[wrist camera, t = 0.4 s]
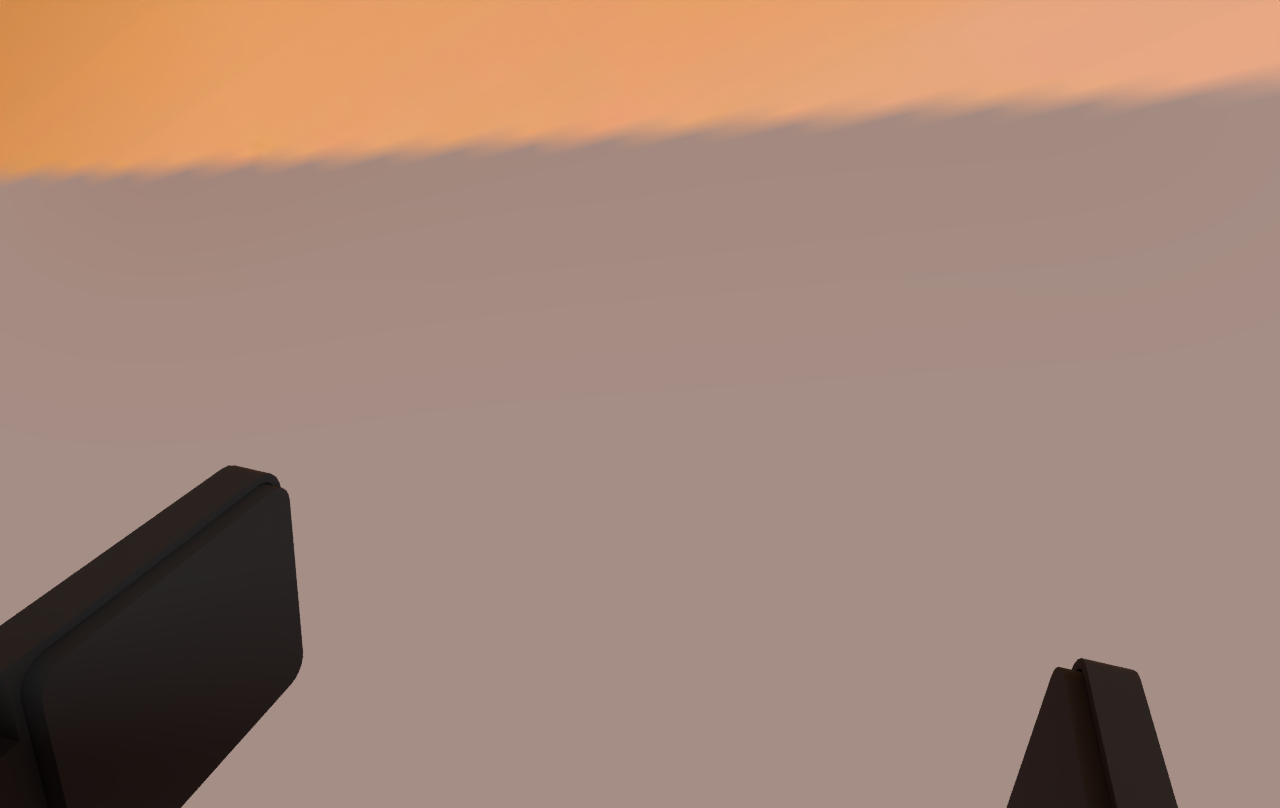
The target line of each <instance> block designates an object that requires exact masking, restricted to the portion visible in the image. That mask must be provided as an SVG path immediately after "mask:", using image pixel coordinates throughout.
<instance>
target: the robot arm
mask: <svg viewBox="0 0 1280 808" xmlns="http://www.w3.org/2000/svg"><path fill="white" fill-rule="evenodd" d="M302 659H303V648H302V636H301V625H300V613H299V601H298V591H297V579H296V568H295V556H294V544H293V532H292V521H291V510H290V499H289V495H288V493H287V491H286V490H284V489H283V488H281V487H280V483H279V481H278V479H277V478H276V477H275V476H274V475H272V474H270V473H265V472H261V471H256V470H252V469H248V468H243V467H239V466H227V467H225V468H223V469H221V470H220V471H218V472H217V473H215V474H214V475H212V476H211V477H210V478H208V479H207V480H206V481H204V482H203V483H201V484H200V485H198V486H197V487H196V488H194V489H193V490H191V491H190V492H189V493H187V494H186V495H184V496H183V497H181V498H180V499H179V500H177V501H176V502H174V503H173V504H172V505H170V506H169V507H167V508H166V509H164V510H163V511H162V512H160V513H159V514H157V515H156V516H155V517H153V518H152V519H150V520H149V521H148V522H146V523H145V524H144V525H142V526H140V527H139V528H138V529H136V530H135V531H133V532H132V533H131V534H129V535H128V536H126V537H125V538H124V539H122V540H121V541H119V542H118V543H116V544H115V545H114V546H112V547H111V548H110V549H108V550H107V551H105V552H104V553H102V554H101V555H99V556H98V557H97V558H95V559H94V560H93V561H91V562H90V563H88V564H87V565H86V566H84V567H83V568H81V569H80V570H78V571H77V572H76V573H74V574H73V575H71V576H70V577H68V578H67V579H66V580H64V581H63V582H61V583H60V584H59V585H57V586H56V587H54V588H53V589H51V591H49V592H47V593H46V594H44V595H43V596H42V597H40V598H39V599H37V600H36V601H35V602H33V603H32V604H30V605H29V606H27V607H26V608H25V609H23V610H22V611H20V612H19V613H18V614H16V615H15V616H13V617H12V618H11V619H9V620H8V621H6V622H5V623H4V624H2V625H1V626H0V808H181V807H182V806H183V805H184V804H185V802H186V801H187V800H188V799H189V798H190V797H191V796H192V795H193V793H194V792H195V791H196V790H197V789H198V787H200V786H201V784H202V783H203V782H204V781H205V780H206V779H207V778H208V777H209V775H210V774H211V773H212V772H213V771H214V770H215V769H216V768H217V767H218V765H219V764H220V763H221V762H222V761H223V760H224V759H225V758H226V756H227V755H228V754H229V753H230V752H231V751H232V750H233V749H234V748H235V746H236V745H237V744H238V743H239V742H240V741H241V740H242V739H243V737H244V736H245V735H246V734H247V733H248V732H249V731H250V730H251V728H252V727H253V726H254V725H255V724H256V723H257V722H258V721H259V720H260V718H261V717H262V716H263V715H264V714H265V713H266V712H267V710H268V709H269V708H270V707H271V706H272V705H273V704H274V703H275V702H276V700H277V699H278V698H279V697H280V696H281V695H282V694H283V693H284V692H285V690H286V689H287V688H288V687H289V686H290V685H291V684H292V682H293V680H295V678H296V676H297V674H298V672H299V670H300V667H301V664H302ZM1007 808H1178V806H1177V803H1176V800H1175V796H1174V793H1173V789H1172V786H1171V782H1170V779H1169V775H1168V772H1167V769H1166V765H1165V762H1164V758H1163V755H1162V751H1161V748H1160V745H1159V741H1158V738H1157V734H1156V731H1155V728H1154V724H1153V721H1152V718H1151V714H1150V710H1149V707H1148V703H1147V700H1146V697H1145V693H1144V690H1143V686H1142V683H1141V679H1140V677H1139V675H1138V673H1137V672H1136V671H1134V670H1131V669H1127V668H1122V667H1118V666H1113V665H1108V664H1105V663H1100V662H1095V661H1091V660H1087V659H1082V658H1080V659H1078V660H1077V661H1076V662H1075V664H1074V666H1073V668H1072V670H1070V669H1065V668H1061V667H1057V668H1056V669H1055V670H1054V671H1053V674H1052V677H1051V679H1050V682H1049V685H1048V688H1047V691H1046V694H1045V696H1044V699H1043V702H1042V705H1041V708H1040V711H1039V714H1038V717H1037V720H1036V723H1035V726H1034V729H1033V732H1032V735H1031V738H1030V741H1029V744H1028V747H1027V750H1026V752H1025V755H1024V758H1023V761H1022V764H1021V767H1020V770H1019V773H1018V776H1017V779H1016V782H1015V785H1014V788H1013V791H1012V793H1011V796H1010V800H1009V803H1008V805H1007Z"/></svg>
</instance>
